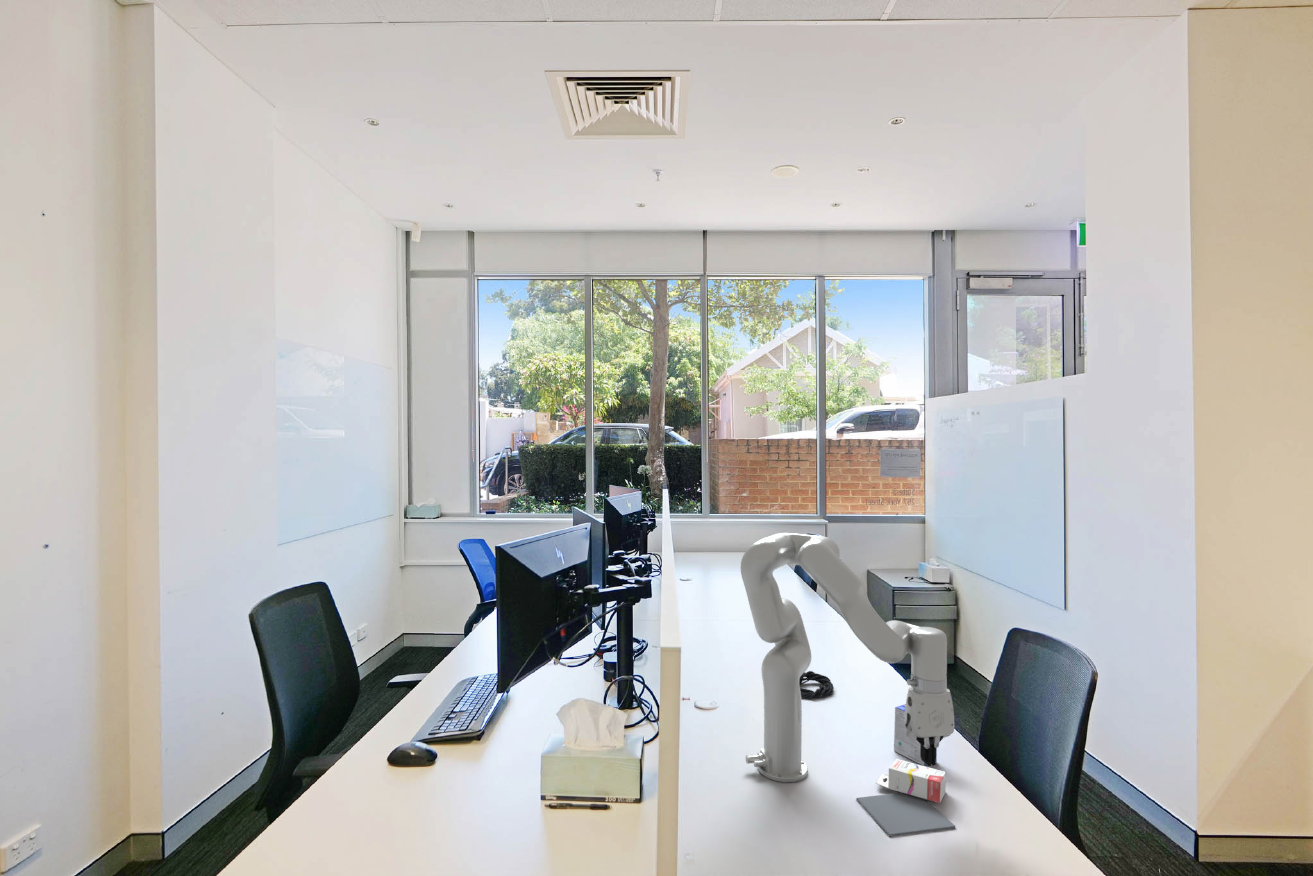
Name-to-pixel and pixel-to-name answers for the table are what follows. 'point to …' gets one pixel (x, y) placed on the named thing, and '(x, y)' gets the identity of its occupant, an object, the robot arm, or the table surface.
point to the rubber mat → (904, 814)
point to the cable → (822, 690)
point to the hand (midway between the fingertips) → (928, 762)
